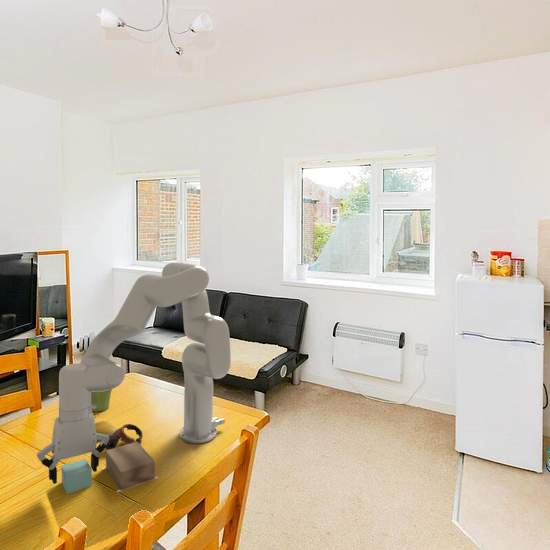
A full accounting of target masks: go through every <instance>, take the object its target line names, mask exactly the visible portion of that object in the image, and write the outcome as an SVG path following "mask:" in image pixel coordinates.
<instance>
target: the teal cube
mask: <svg viewBox="0 0 550 550" xmlns="http://www.w3.org/2000/svg"><path fill="white" fill-rule="evenodd" d="M92 472H93V470H92V468H91V464H89V462H88V460H87V458H83V459H81V460H77V461H74V462H70V463H67V464H63V465H61V484H62V486H63V488H64V491H65V493H66V495H68V494H72V493H74V492H77V491H81V490H82V489H86V488H89V487H92V486H93V475H92Z"/></svg>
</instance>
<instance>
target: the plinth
mask: <svg viewBox="0 0 550 550" xmlns="http://www.w3.org/2000/svg"><path fill="white" fill-rule="evenodd" d="M155 464H156V461H155V460H154V459H153V458H152V456H151V455H150V454H149V453H148V452H147V451H146V449H145V448H144V447H143V446H142V445H141V444H139V443H138V442H136V441H134V443H130V444H127V443H126V444H125V445H120V446H117V447H115V448H113V449H110V450H109V449H105V467H106V468H107V469H106V470H107V471H108V473H109V474H110V476H111V478H112V479H113V481H114V482H115V484H116V485H117V487H118V488H119V489H121V490H123V491H124V489H125V490H128V489H131V488H133V486H134V487H136V486H135V485H137V486H139V485H141V483H142V484H145V483H147V481H148V482H150V480H151V481H153V480H152V479H154V480H156V479H155V477H156V476H155V475H156V474H155V473H156V470H155V468H156V467H155V466H156V465H155ZM144 482H145V483H144ZM138 484H139V485H138ZM130 487H131V488H130ZM127 488H128V489H127Z"/></svg>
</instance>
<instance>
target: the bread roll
mask: <svg viewBox="0 0 550 550" xmlns="http://www.w3.org/2000/svg"><path fill="white" fill-rule="evenodd" d="M95 427H96V433H100V434H104V435H108V436H110V435H113V433H114V432H115V431H116V430H117V428H116V426H114V425H113V423H111V422H110V421H107V420H102V421H101V420H100V421H98V422H95ZM98 441H100V440H98V439H97V442H98Z"/></svg>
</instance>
